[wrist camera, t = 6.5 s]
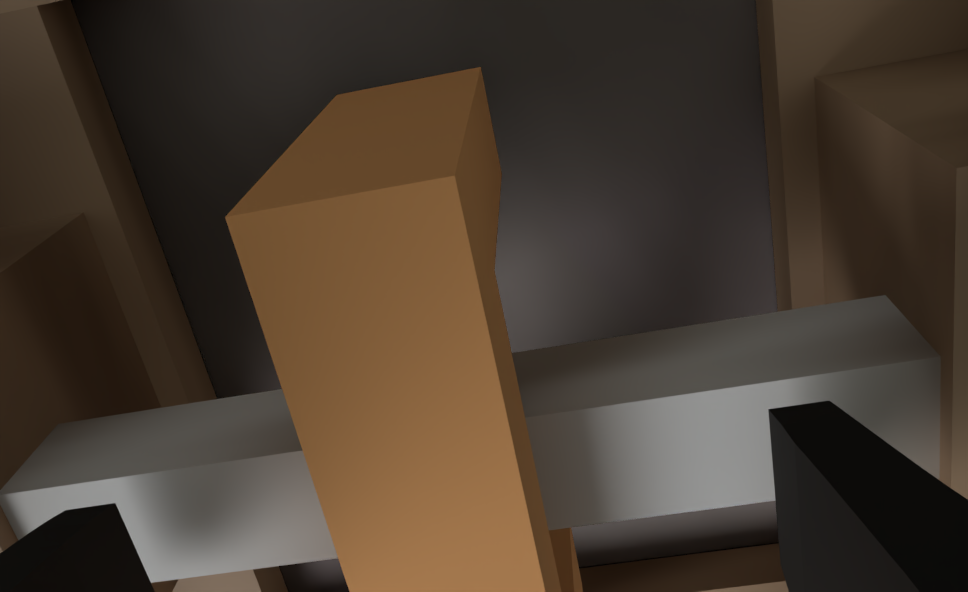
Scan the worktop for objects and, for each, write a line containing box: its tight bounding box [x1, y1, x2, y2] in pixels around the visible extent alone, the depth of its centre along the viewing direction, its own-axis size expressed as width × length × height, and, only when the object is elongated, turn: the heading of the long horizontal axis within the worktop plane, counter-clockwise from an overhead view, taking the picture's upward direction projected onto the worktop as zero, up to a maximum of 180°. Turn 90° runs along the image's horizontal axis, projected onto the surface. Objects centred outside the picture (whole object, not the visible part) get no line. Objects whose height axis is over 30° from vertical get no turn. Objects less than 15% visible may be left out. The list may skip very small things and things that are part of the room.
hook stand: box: [0, 0, 968, 592], centre depth 13 cm, size 22×18×6 cm
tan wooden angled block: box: [225, 67, 583, 592], centre depth 12 cm, size 9×2×5 cm, turn 11°
